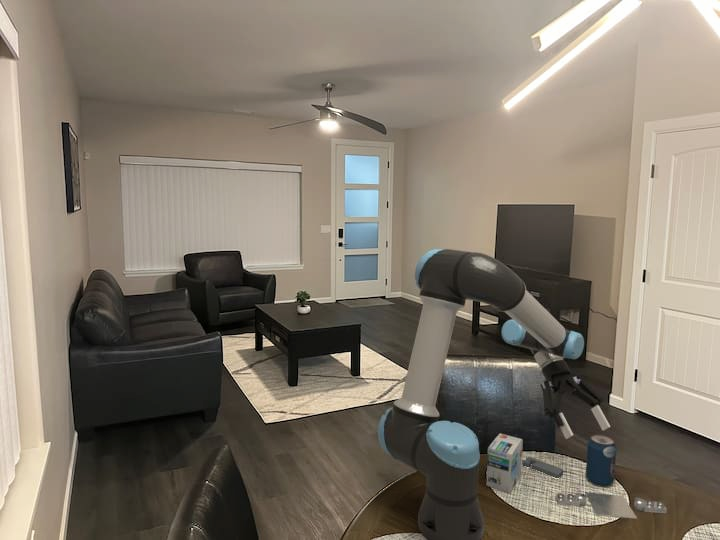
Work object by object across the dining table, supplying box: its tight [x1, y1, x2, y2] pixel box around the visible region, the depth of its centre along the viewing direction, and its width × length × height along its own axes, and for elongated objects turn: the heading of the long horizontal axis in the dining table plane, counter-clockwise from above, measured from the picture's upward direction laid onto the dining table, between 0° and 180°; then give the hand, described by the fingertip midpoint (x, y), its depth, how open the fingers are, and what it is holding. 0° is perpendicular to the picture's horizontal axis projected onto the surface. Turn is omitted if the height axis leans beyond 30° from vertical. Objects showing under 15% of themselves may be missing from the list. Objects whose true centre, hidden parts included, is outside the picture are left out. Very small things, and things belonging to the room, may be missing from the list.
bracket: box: [521, 456, 565, 479], centre depth 143 cm, size 4×10×2 cm, turn 47°
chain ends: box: [555, 492, 668, 520], centre depth 126 cm, size 25×9×2 cm, turn 82°
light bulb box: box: [486, 432, 524, 494], centre depth 137 cm, size 11×7×11 cm, turn 148°
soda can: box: [585, 434, 617, 488], centre depth 136 cm, size 7×7×12 cm
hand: (588, 433), depth 142 cm, fingers open, 13 cm apart
